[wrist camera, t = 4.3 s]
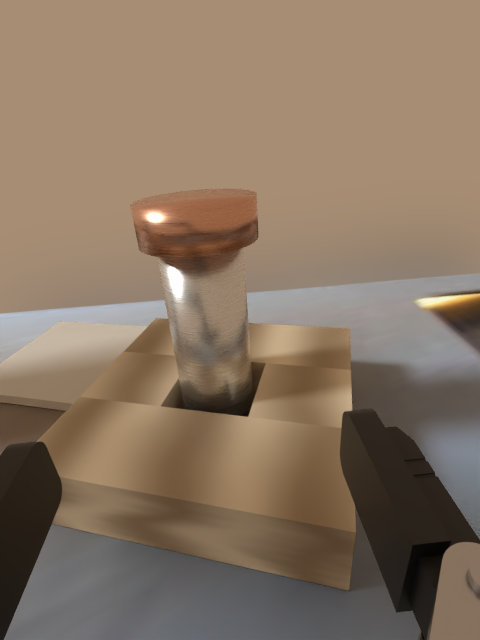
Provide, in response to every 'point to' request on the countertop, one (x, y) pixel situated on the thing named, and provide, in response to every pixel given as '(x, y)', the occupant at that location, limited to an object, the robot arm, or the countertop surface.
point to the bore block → (217, 457)
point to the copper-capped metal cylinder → (204, 289)
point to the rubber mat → (62, 363)
